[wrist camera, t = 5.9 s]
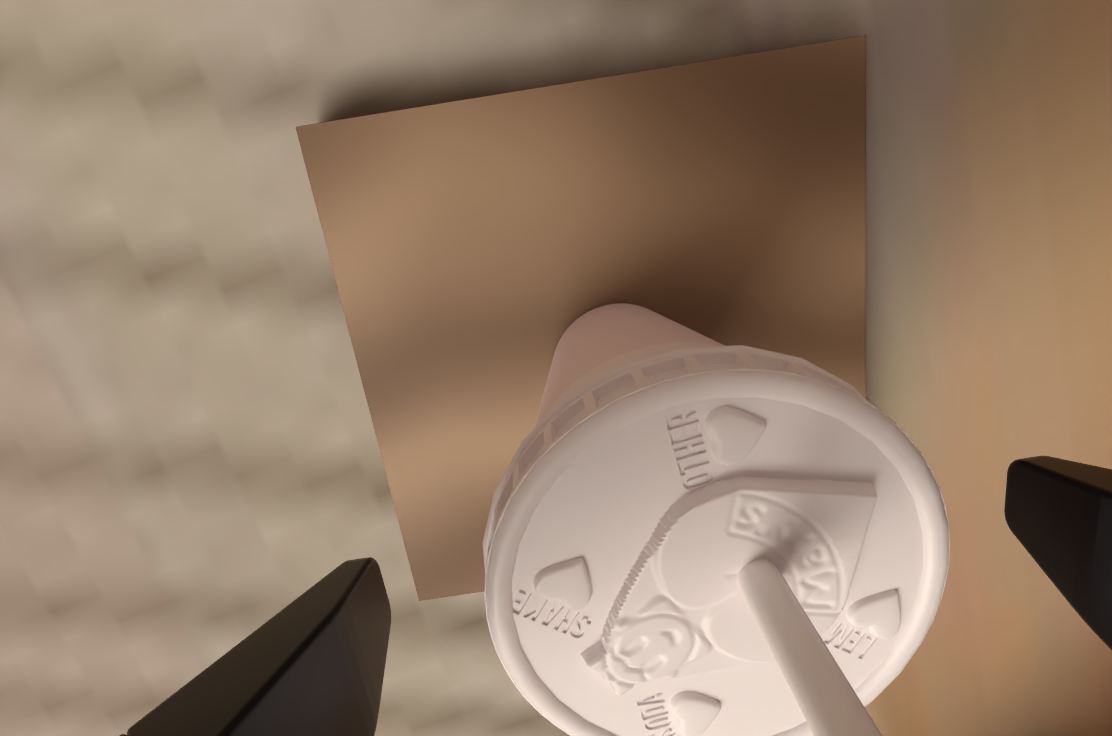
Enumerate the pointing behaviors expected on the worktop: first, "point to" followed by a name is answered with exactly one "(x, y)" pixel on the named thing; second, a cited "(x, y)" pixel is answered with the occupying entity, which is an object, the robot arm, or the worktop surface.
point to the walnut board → (582, 251)
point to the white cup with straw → (708, 540)
